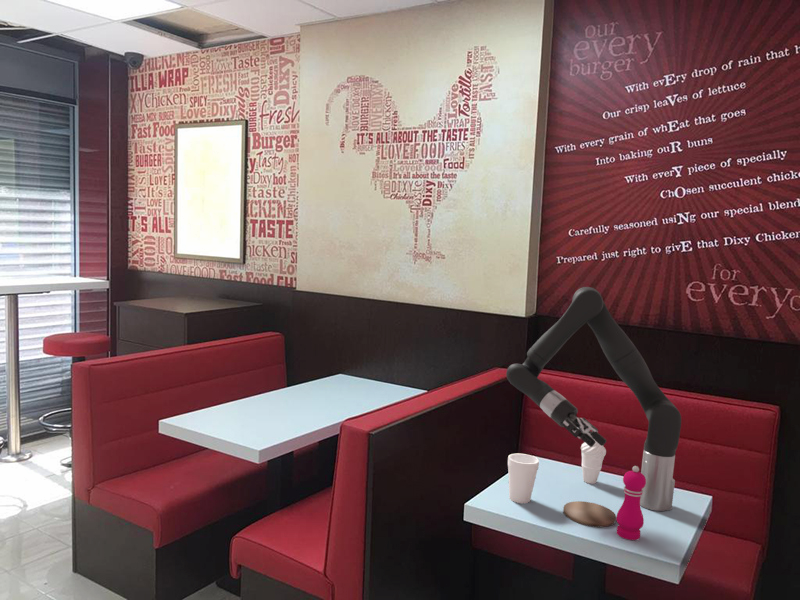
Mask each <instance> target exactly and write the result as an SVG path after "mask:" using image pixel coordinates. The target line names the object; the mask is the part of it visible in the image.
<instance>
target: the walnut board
mask: <svg viewBox="0 0 800 600" xmlns="http://www.w3.org/2000/svg"><path fill="white" fill-rule="evenodd" d="M562 511H563V515H564V516H565V517H567V519H568V520H570V521H573V522H574V523H577V524H580V525H584V526H587V525H588V526H587V527H593V526H594V528H595V527H596V528H604V527H606V528H607V527H610V526H613V525H614V524H615V523H616V522H617V520H616V517H617V514H616V513H615V512H614V511H613V510H611V509H610V508H608V507H606V506H604V505H601V504H598V503H594V502H589V501H579V500H578V501H569V502H566V504H564V505H563V510H562Z"/></svg>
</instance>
